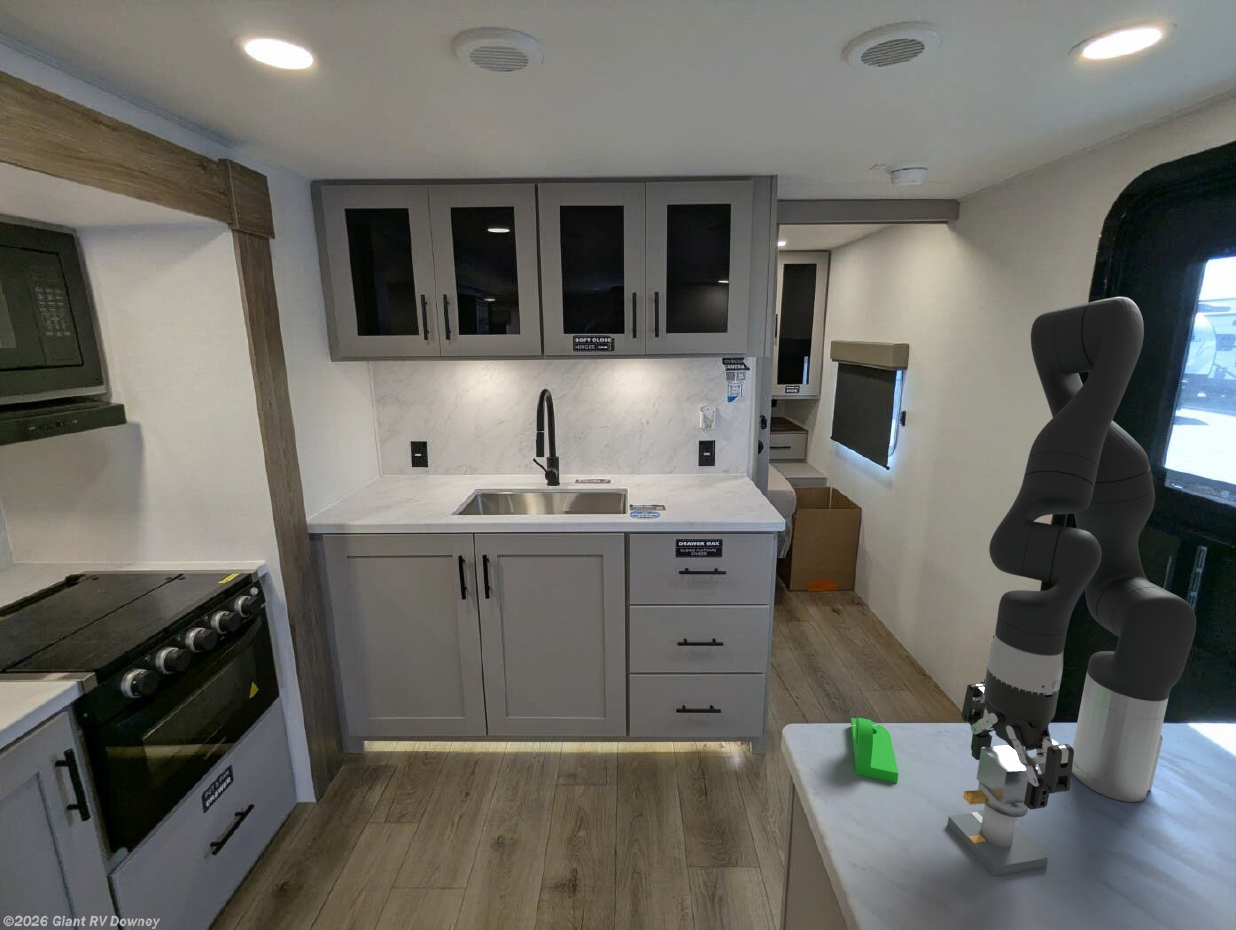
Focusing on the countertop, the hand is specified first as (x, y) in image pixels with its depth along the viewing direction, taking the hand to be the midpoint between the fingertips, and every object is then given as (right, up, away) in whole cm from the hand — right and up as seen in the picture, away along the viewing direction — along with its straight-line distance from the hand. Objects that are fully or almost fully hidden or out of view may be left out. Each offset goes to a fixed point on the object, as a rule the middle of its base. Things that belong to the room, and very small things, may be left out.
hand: (1005, 781), depth 73 cm
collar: (-1, -3, +1) cm, 3 cm away
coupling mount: (0, -10, +2) cm, 10 cm away
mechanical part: (-9, -7, +20) cm, 23 cm away
